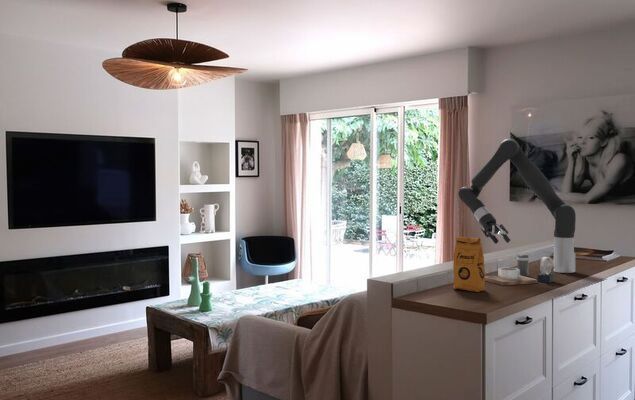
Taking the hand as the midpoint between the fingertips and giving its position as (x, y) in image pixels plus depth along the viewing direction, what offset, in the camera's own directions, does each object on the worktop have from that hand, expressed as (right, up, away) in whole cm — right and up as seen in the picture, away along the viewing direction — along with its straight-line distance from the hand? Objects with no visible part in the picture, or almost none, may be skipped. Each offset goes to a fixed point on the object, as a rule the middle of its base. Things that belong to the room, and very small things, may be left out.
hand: (503, 242), depth 282 cm
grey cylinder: (+6, -15, -9) cm, 19 cm away
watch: (+11, -16, -24) cm, 31 cm away
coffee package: (-28, -17, -43) cm, 54 cm away
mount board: (-5, -16, -23) cm, 29 cm away
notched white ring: (-5, -14, -23) cm, 28 cm away
